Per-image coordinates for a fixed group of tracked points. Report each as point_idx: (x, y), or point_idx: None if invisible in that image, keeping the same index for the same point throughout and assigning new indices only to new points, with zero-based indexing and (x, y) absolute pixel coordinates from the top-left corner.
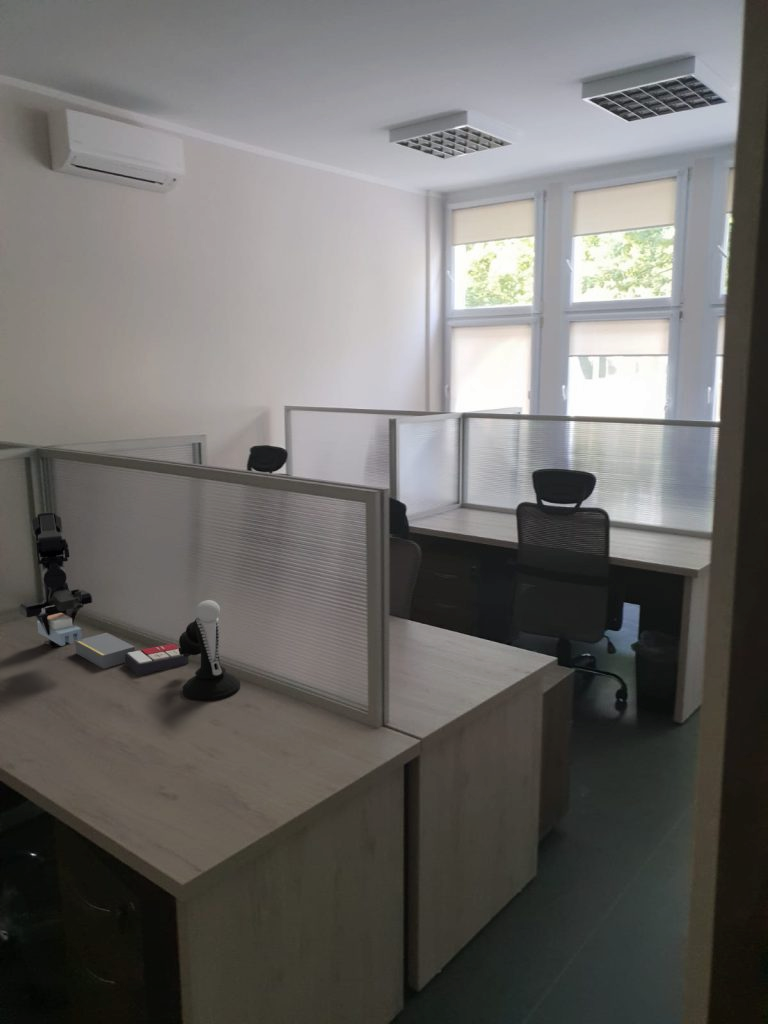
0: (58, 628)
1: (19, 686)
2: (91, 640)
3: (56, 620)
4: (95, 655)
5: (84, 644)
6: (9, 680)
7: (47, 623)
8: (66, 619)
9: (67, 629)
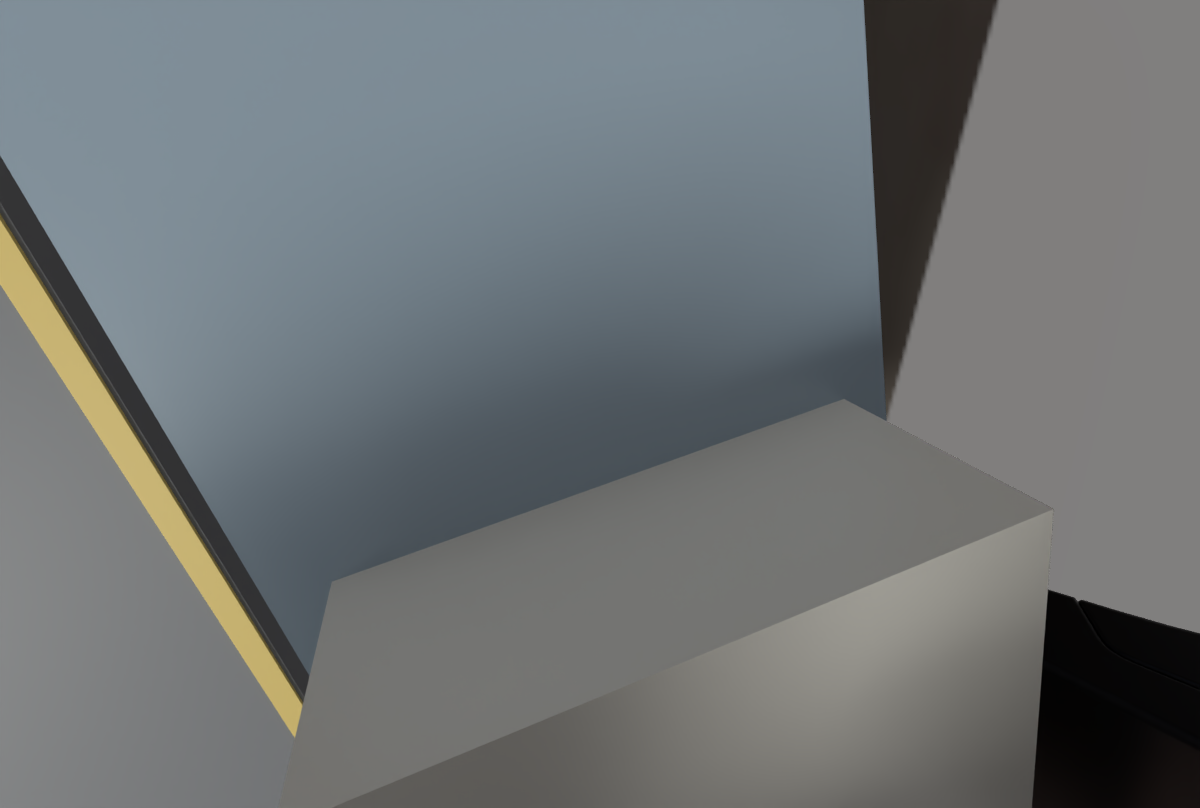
0: (765, 433)
1: (888, 149)
2: (179, 768)
3: (914, 705)
4: None
5: (264, 670)
6: (904, 331)
7: (1062, 653)
8: (552, 719)
9: (531, 241)
